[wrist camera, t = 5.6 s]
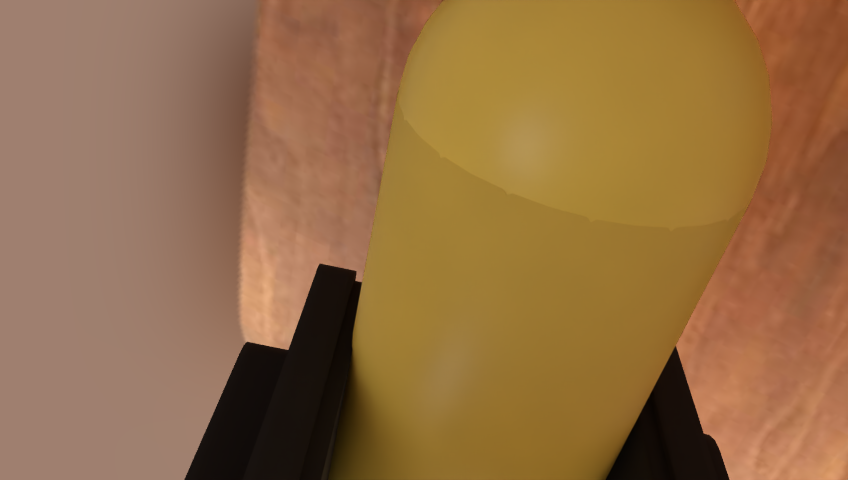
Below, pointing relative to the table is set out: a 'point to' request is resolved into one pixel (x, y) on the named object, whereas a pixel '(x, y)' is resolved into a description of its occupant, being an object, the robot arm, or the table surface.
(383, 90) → the table surface
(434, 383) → the yellow gas cartridge
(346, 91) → the table surface
